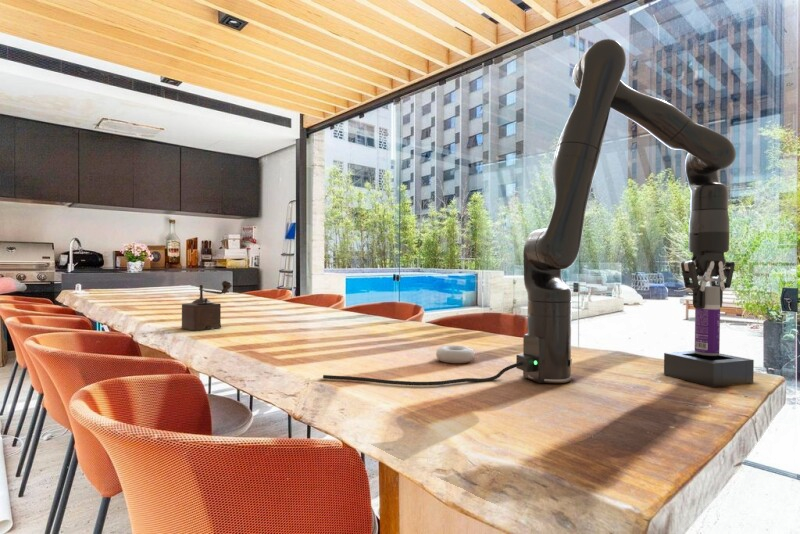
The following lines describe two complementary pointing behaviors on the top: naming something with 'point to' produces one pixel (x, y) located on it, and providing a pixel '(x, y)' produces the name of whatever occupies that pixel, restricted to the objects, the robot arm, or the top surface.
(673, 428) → the top surface
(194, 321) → the coffee grinder
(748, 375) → the stand
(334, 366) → the top surface
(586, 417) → the top surface
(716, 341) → the container
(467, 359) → the donut
